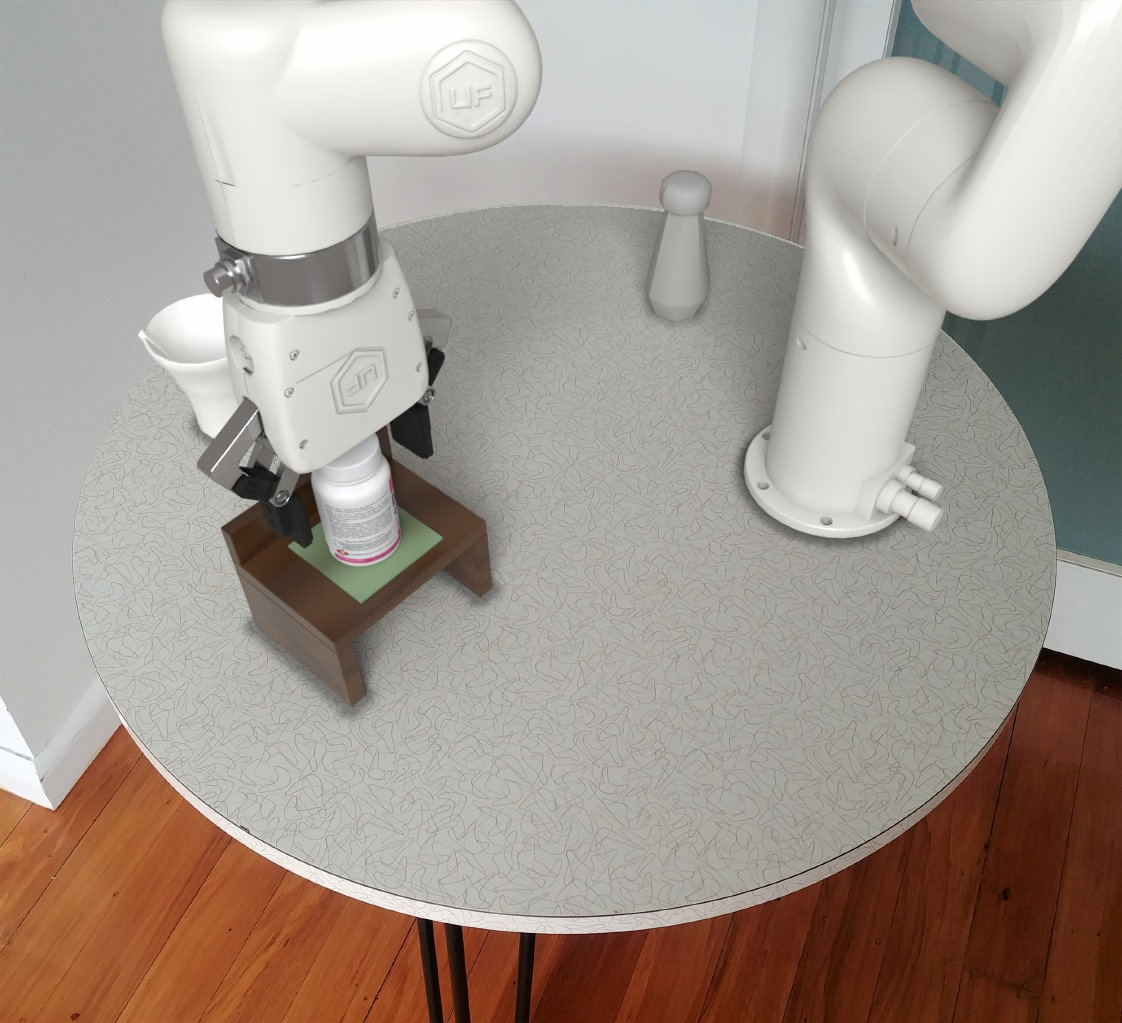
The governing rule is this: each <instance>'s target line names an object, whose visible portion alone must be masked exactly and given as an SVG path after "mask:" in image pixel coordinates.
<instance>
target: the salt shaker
mask: <svg viewBox="0 0 1122 1023" xmlns="http://www.w3.org/2000/svg"><path fill="white" fill-rule="evenodd" d="M712 191H713V189H712V183H711V181H710V180H709V179H708V177H706V175H704V174H703V173H700V172H699V171H695V170H690V169H680V170H676V171H673V172H671V173H669V174H667V175H666V176H665V177H664V178H663V179H662V180H661V183H660V188H659V198H658V199H659V202H660V205H661V206H662V208H663V209H664V211H663V214H662V219H661V221H660V225H659V229H658V233H657V236H656V237H657V238H656V240H655V244H654V248H653V252H652V255H651V259H650V263H649V266H648V271H647V274H646V278H645V284H644V292H645V294H646V295H647V298H648V300H649V301H650V303H651V306H652V309H653V311H654V314H655V316H657V317H660V318H663V319H664V320H667V321H669V322H672V323H675V322H681V321H687V320H692V319H693V318H694V316H695V314H696V313H697V311H698V310H699V309H700V308H701V306H702V305H703V304H704V302H705V301H706V300H707V299H708V296H709V293H710V288H711V281H710V270H709V269H710V268H709V257H708V247H707V246H708V245H707V239H706V238H707V236H706V225H705V215H704V211H705V210H706V209H707V208H709V206H710V202H711V197H712Z"/></svg>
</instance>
